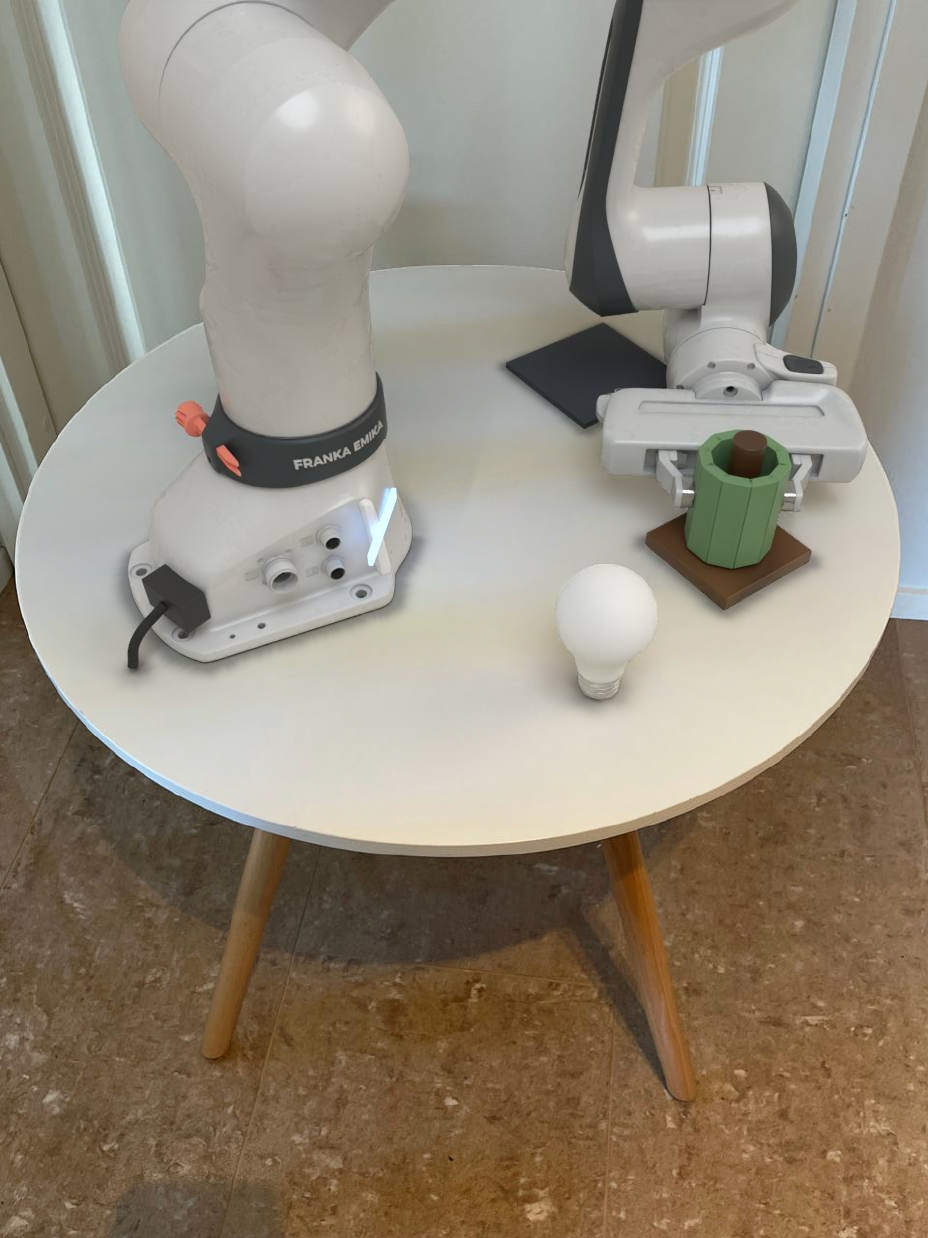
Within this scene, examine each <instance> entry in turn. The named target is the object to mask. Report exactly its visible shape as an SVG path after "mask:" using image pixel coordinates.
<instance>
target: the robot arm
mask: <svg viewBox="0 0 928 1238" xmlns="http://www.w3.org/2000/svg"><path fill="white" fill-rule="evenodd" d="M395 1H396V0H129V2H128V4H127V6H126V7H125V10H124V12H123V15H122V17H121V21H120V24H119V25H120V26H119V31H118V39H117V40H118V41H117V48H118V49H117V50H118V59H119V65H120V69H121V73H122V78H123V81H124V85H125V88H126V91H127V95H128V98H129V100H130V103H131V106H132V109H133V110H134V113H135V114H136V117H137V118H138V120H139V122H140V123H141V125H142V126H143V128H144V129H145V131H146V132H147V133H148V134H149V135H150V137H151V138H152V139H153V140H154V141H155V143H157V144H158V146H159V147H160V148H161V149H162V150H163V151H164V152H165V154H166V155H167V156H168V157H169V158H170V159H171V160H172V161H173V163H174V166H176V168H177V169H178V171H179V172H180V174H181V175H182V178H183V180H184V181H185V183H186V185H187V187H188V189H189V191H190V193H191V196H192V198H193V200H194V203H195V205H196V208H197V211H198V214H199V218H200V223H201V228H202V233H203V239H204V257H205V259H204V260H205V283H204V284H203V286H202V288H201V291H200V294H199V300H198V301H199V302H198V306H199V307H198V308H199V312H200V317H201V321H202V325H203V329H204V334H205V338H206V342H207V347H208V351H209V355H210V359H211V364H212V368H213V373H214V376H215V381H216V385H217V389H218V393H217V396H216V399H215V403H214V407H213V411H212V413H211V415H209V414H208V413H206V412H205V411H204V409H203V407H202V406H201V405H200V404H199V403H197V402H196V401H194V400H187V401H184V402H182V403H181V404H180V405H178V407H177V408H176V409H177V410H176V411H175V412H174V415H175V421H176V422H177V424H178V425H179V426H180V427H181V428H183V430H184V431H185V433H186V434H187V435H188V436H190V437H193V438H200V437H201V441H202V446H203V448H202V449H201V450H200V451H199V452H198V453H197V455H196V456H195V457H194V458H193V459H192V461H190V463H188V465H187V466H186V467H185V468H184V469H183V470H182V472H180V474H179V475H178V476H177V477H176V478H175V479H174V480H173V481H172V482H171V483H170V485H168V487H167V488H165V490H164V491H163V492H162V493H161V494H160V495H159V496H158V497H157V498H156V499H155V500H154V502H153V504H152V506H151V508H150V512H149V517H148V540H146V541H144V542H143V543H141V544H140V545H138V546H137V547H135V548H134V549H133V550H132V552H130V556H129V561H128V565H127V576H128V583H129V586H130V591H131V594H132V598H133V600H134V602H135V604H136V607H137V609H138V610H139V612H140V614H141V615H142V617H143V618H144V619H143V620H142V621H141V622H140V623H139V625H138V626H137V627H136V629H135V630H134V633H133V634H132V636H131V638H130V640H129V643H128V647H127V653H126V655H127V668H128V669H130V670H137V669H138V668H139V661H140V659H139V650H140V646H141V643H142V641H143V640H144V638H145V636H146V635H147V633H148V632H149V631H150V630H152V631H153V632H154V633H155V634H156V635H157V637H159V639H160V640H162V641H163V642H164V643H165V644H166V645H167V646H168V647H170V648H171V649H173V650H174V651H176V652H177V653H179V654H180V655H183V656H185V657H187V658H189V659H192V660H195V661H198V662H201V663H210V662H213V661H218V660H222V659H224V658H227V657H229V656H233V655H237V654H239V653H244V652H246V651H249V650H253V649H256V648H258V647H262V646H265V645H268V644H271V643H275V642H277V641H281V640H283V639H287V638H291V637H292V636H296V635H299V634H302V633H306V632H309V631H312V630H315V629H318V628H321V627H324V626H327V625H330V624H334V623H337V622H339V621H344V620H346V619H349V618H353V617H355V616H359V615H362V614H365V613H369V612H371V611H374V610H377V609H380V608H383V607H385V606H387V605H389V604H390V603H391V601H392V600H393V598H394V594H395V589H396V588H395V586H396V574H397V572H398V570H399V568H400V566H401V565H402V563H403V562H404V560H405V559H406V557H407V555H408V553H409V550H410V548H411V545H412V541H413V524H412V520H411V518H410V515H409V513H408V511H407V510H406V508H405V506H404V504H403V500H402V499H401V497H400V495H399V491H398V489H397V486H396V483H395V480H394V479H395V478H394V475H393V471H392V469H391V464H390V460H389V456H388V450H387V446H386V441H385V440H386V439H387V436H388V427H389V426H388V418H387V406H386V399H385V393H384V392H385V391H384V386H383V381H382V378H381V376H380V374H379V372H378V371H377V370H376V362H375V361H376V360H375V351H374V339H373V329H372V328H373V327H372V317H371V304H370V280H371V279H370V278H371V268H372V261H373V255H374V250H375V245H376V244H377V243H378V242H379V241H380V239H382V237H383V236H384V235H385V234H386V233H387V232H388V231H389V229H390V228H391V226H392V225H393V223H394V222H395V220H396V219H397V217H398V215H399V213H400V211H401V208H402V206H403V204H404V202H405V198H406V194H407V192H408V187H409V181H410V173H411V171H410V170H411V157H410V150H409V145H408V144H409V143H408V140H407V136H406V134H405V131H404V128H403V126H402V123H401V122H400V120H399V118H398V116H397V114H396V113H395V112H394V110H393V108H392V106H391V105H390V103H389V101H388V99H387V98H386V96H385V95H384V94H383V92H382V90H381V89H380V87H379V86H378V84H377V83H376V81H375V80H374V78H373V77H372V76H371V74H370V73H369V72H368V71H367V69H366V68H365V66H364V65H363V64H362V63H361V62H360V61H359V60H358V59H356V58H355V57H354V55H352V54H351V53H349V50H351V48H352V46H353V45H354V44H355V43H356V42H357V41H358V40H359V38H360V37H361V36H362V35H363V34H364V33H365V31H366V30H367V29H368V28H369V27H370V26H371V25H372V24H373V23H374V22H375V21H376V20H377V18H379V16H380V15H381V14H382V13H383V12H384V11H385V10H386V9H388V8H389V6H391V5H392V4H393V3H395ZM801 1H802V0H615V3H614V6H613V7H614V8H613V11H612V14H611V20H610V24H609V27H608V28H609V29H608V33H607V38H606V44H605V49H604V53H603V59H602V63H601V67H600V73H599V80H598V85H597V90H596V95H595V101H594V108H593V112H592V118H591V125H590V129H589V136H588V141H587V147H586V152H585V158H584V164H583V171H582V176H581V181H580V185H579V190H578V195H577V199H576V203H575V206H574V209H573V211H572V215H571V217H570V221H569V224H568V227H567V231H566V234H565V240H564V246H563V267H564V274H565V279H566V282H567V285H568V291H569V292H570V293H571V294H572V295H573V297H575V299H576V300H578V301H579V302H580V303H581V304H582V305H583V306H584V307H586V308H587V309H588V310H590V311H591V312H593V313H594V314H596V315H597V316H599V317H600V318H605V317H614V316H620V315H629V314H630V315H631V314H637V313H639V312H643V311H645V312H646V311H663V317H662V349H663V356H664V360H665V364H666V365H667V369H666V384H667V389H651V388H619V389H615V390H614V393H608V394H605V395H601V396H599V398H598V400H597V402H596V416H597V418H598V420H599V421H600V422H599V423H601V424H602V430H601V431H602V432H601V439H600V450H599V451H600V452H599V455H600V456H599V466H600V467H601V469H602V470H603V471H605V472H606V473H607V474H609V475H611V476H618V477H619V476H622V477H654V478H655V482H656V483H657V484H658V485H659V486H660V487H662V489H664V490H665V491H666V492H667V493H668V494H669V495H671V500H672V507H673V508H674V509H675V508H676V509H677V508H678V509H688V508H693V506H694V501H693V500H694V499H695V486H694V479H693V477H694V471H695V466H696V460H697V454H698V449H699V447H700V446H701V445H702V444H703V443H704V442H705V441H706V440H707V439H708V438H709V437H710V436H711V435H713V434H716V433H721V432H726V431H731V430H736V429H738V430H739V429H741V430H753V431H757V432H759V433H762V434H765V436H766V435H768V436H769V437H771V438H772V439H773V440H775V441H776V442H778V443H779V444H781V445H782V446H784V447H785V448H786V449H787V451H788V455H789V458H790V462H791V465H792V468H791V472H790V476H789V479H788V483H787V487H786V491H785V495H784V499H783V503H782V506H781V510H780V512H792V513H799V512H800V511H801V506H802V503H803V500H804V499H803V498H804V491H805V489H806V487H807V486H808V483H833V484H834V483H836V484H850V483H851V482H853V481H854V480H855V479H856V478H857V477H858V476H859V475H860V473H861V471H862V469H863V466H864V463H865V459H866V456H867V452H868V448H869V447H868V446H869V441H868V440H869V439H868V436H867V432H866V429H865V426H864V423H863V420H862V418H861V416H860V414H859V412H858V411H859V410H858V409H857V408H856V405H855V403H854V402H853V400H852V399H851V397H850V396H849V395H848V394H847V392H845V391H844V390H843V389H840V388H839V387H837V382H838V370H837V368H836V366H835V365H834V364H832V363H830V362H828V361H825V360H820V359H815V358H809V357H805V356H801V355H798V354H793V353H791V352H787V351H784V350H781V349H778V348H776V347H774V346H771V345H769V344H767V328H770V327H772V325H774V324H775V322H776V321H777V320H779V317H780V316H781V315H782V313H783V312H784V310H785V309H786V307H787V306H788V304H789V303H790V301H791V299H792V295H793V291H794V288H795V283H796V278H797V268H798V242H797V234H796V229H795V228H796V227H795V223H794V218H793V214H792V211H791V209H790V208H789V206H788V204H787V203H786V201H785V199H783V197H782V196H781V195H780V193H779V192H778V191H777V190H776V189H775V188H774V187H773V186H771V185H770V184H769V183H768V182H766V181H742V182H738V181H737V182H719V183H718V182H716V183H705V184H701V185H681V186H680V185H679V186H678V185H677V186H659V187H658V186H657V187H645V186H644V187H643V186H638V185H637V184H634V182H635V177H636V172H637V169H638V165H639V164H638V163H639V159H640V154H641V150H642V144H643V141H644V136H645V130H646V127H647V122H648V117H649V112H650V110H651V106H652V103H653V100H654V98H655V96H656V94H657V93H658V91H659V90H660V88H661V87H662V86H663V85H664V84H665V82H666V81H667V80H668V79H670V78H671V77H672V76H673V75H674V74H676V73H677V72H679V70H681V69H683V68H684V67H686V66H687V65H688V64H690V63H692V62H693V61H695V60H697V59H699V58H701V57H703V56H704V55H706V54H709V53H710V52H712V51H714V50H716V49H719V48H721V47H722V46H725V45H728V44H730V43H732V42H734V41H737V40H739V39H741V38H744V37H746V36H749V35H752V34H753V33H756V32H758V31H760V30H761V29H764V28H766V27H767V26H768V25H770V24H772V23H774V22H775V21H777V20H778V19H780V18H781V17H782V16H784V15H786V14H787V13H788V12H789V11H791V10H792V9H793V8H794V7H796V6H797V5H798V4H799V3H800V2H801Z"/></svg>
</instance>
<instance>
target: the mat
mask: <svg viewBox="0 0 928 1238" xmlns="http://www.w3.org/2000/svg"><path fill="white" fill-rule="evenodd" d="M505 368H506V369H507V370H508V371H510V372H511V373H512V374H513V375H515V376H516V377H517V378H518V379H520V380H521V381H522V382H524V383H525V384H526V385H527V386H528V387H530V388H531V389H533V390H534V391H535V392H537V394H539V395H540V396H542V397H543V398H544V399H546V400H547V402H549V403H551V404H552V406H554V407H555V408H557V409H558V410H559V411H561V412H562V413H563V414H564V415H566V416H567V417H569V418H570V419H571V420H572V421H573V422H574V423H576V424H577V425H578V426H580V427H581V428H582V429H587V428H589V427H592V426H594V425H596V424H598V423H601V422H600V421H599V420H598V418H597V416H596V402H597V400H598V398H599V396H601V395H605V394H608V393H614V390H615V389H619V388H651V389H667V384H666V369H667V363H664V362H663V361H662V360H660V359H658V358H657V357H655V356H654V355H653V354H651V353H650V352H648V351H647V350H645V349H644V348H643V347H642V346H639V345H638V344H636V343H635V342H634V341H632V340H631V339H629V338H628V337H626V336H625V335H623V334H622V333H620V332H619V331H618V330H616V329H615V328H612V327H611V326H610V325H609V324H607V323H605V321H603V322H600V323H598V324H596V325H593V326H591V327H588V328H586V329H584V330H581V331H579V332H576V333H574V334H571V335H569V336H566V337H563V338H562V339H560V340H557V341H554V342H552V343H549V344H547V345H545V346H543V347H540V348H538V349H535V350H533V351H531V352H528V353H525V354H523V355H521V356H518V357H516V358H513V359H511V360H509V361H506V362H505Z"/></svg>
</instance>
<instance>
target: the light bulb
mask: <svg viewBox="0 0 928 1238" xmlns="http://www.w3.org/2000/svg"><path fill="white" fill-rule="evenodd" d="M658 611H659V610H658V604H657V601H656V598H655V593H653V590H651V587H650V585H648V583H647V582H646V581H645V579H644V578H643V577H642V576H641V575H639V574H637V573H636V572H635V571H633V570H632V569H630V568H628V567H625V566H623V565H619V564H614V563H598V564H593V565H590V566H587V567H585V568H583V569H581V570H579V571H577V572H575V573H574V574H573V575H572V576H571V577H570V578H569V579H568V580H567V581H566V582H565V583H564V585H563V586H562V587H561V589H560V591H559V593H558V594H557V597H556V600H555V606H554V614H553V616H554V617H553V618H554V625H555V626H554V627H555V630H556V633H557V635H558V637H559V639H560V641H561V643H562V645H563V646H564V647H565V648H566V649H567V650H568V652H569V653H570V654H571V655H572V656H573V657H574V659H575V666H576V669H577V676H576V677H577V684H578V686H579V689H580V690H581V692H582V693H583V694H584V695H585V696H587V697H588V698H592V699H594V700H603V701H605V700H607V699H610V698H612V697H614V696H615V695H616V694H617V693H618V691H619V690H620V687H621V682H622V675H623V674H624V672H625V670H626V667H627V664H628V663H629V662H631V661H632V660H633V659H635V658H637V657H638V656H639V655H641V654H642V653H643V652H644V651H645V650H646V649H647V648H648V646H649V645H650V643H651V641H652V640H653V638H654V635H655V632H656V630H657V626H658V621H659V619H658V616H659V614H658V613H659V612H658Z"/></svg>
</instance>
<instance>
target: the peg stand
mask: <svg viewBox="0 0 928 1238" xmlns="http://www.w3.org/2000/svg"><path fill="white" fill-rule="evenodd" d="M766 447H767V439H766V437H765V436H764V435H763V434H761V433H759V432H757V431H753V430H743V431H739V432H737V433H736V434H735V435H734V437H733V441H732V446H731V451H730V456H729V461H728V466H727V471H726V473H727V474H728V475H732V476H737V477H742V478H747V479H753V478H758V477H760V473H761V469H762V465H763V460H764V456H765V452H766ZM686 517H687V511H686V512H684V513H682V514H680V515H678V516H676V517H675V518H672V519H671V520H669V521H667V522H664V523H663V524H660V525H659V526H657V527H655V528H653V529H652V530H650V531H648V532H647V531H646V533H645V534H646V535H645V542H644V543H645V545H646V546H647V547H648V548H649V549H650V550H652V552H655V553H656V555H658V556H659V557H660V558H662V560H664V561H665V562H666V563H668V564H669V565H670V566H671V567H672V568H673V569H674V570H676V571H677V572H678V573H679V574H680V575H682V577H684V578H685V579H686V580H688V581H689V582H690V583H692V585H694V586H695V587H696V588H698V589H699V590H700V591H701V592H702V593H703V594H704V595H705V596H707V597H708V598H709V599H711V600H712V601H713V602H714V603H716V604H717V605H718V606H719V607H720V608H721V609H722V610H727V609H729V608H730V607H733V606H734V605H736V604H737V603H740V602H741V601H742V600H744V599H746V598H748V597H750V596H752V595H753V594H755V593H757V592H759V591H760V590H762V589H764V588H766V587H767V586H769V585H771V584H773V583H774V582H776V581H778V580H779V579H781V578H783V577H784V576H786V575H788V574H790V573H791V572H793V571H795V570H797V569H798V568H800V567H802V566H803V565H805V564H807V563H809V562H810V560H811V556H812V552H813V550H812V549H811V548H809V547H808V546H807V545H806V544H804V543H802V542H801V541H799V539H797V538H796V537H795V536H793V535H792V534H790V532H788V531H787V530H785V529H784V528H783V527H781V526H780V525H778V524H777V526H776V529H775V533H774V537H773V541H772V545H771V549H770V550H769V551H768V552H767V553H766V555H765V556H764V557H763V558H762V559H761V561H760V562H759V563H756V564H752V565H748V566H743V567H739V568H733V569H731V568H726V567H722V566H717V565H713V564H708V563H706V562H704V561H703V560H702V559H700V558H699V557H698V556H697V555H696V554H694V553H693V552H692V551H691V550H689V549H688V547H687V544H686V538H685V532H684V528H685V523H686Z"/></svg>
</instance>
